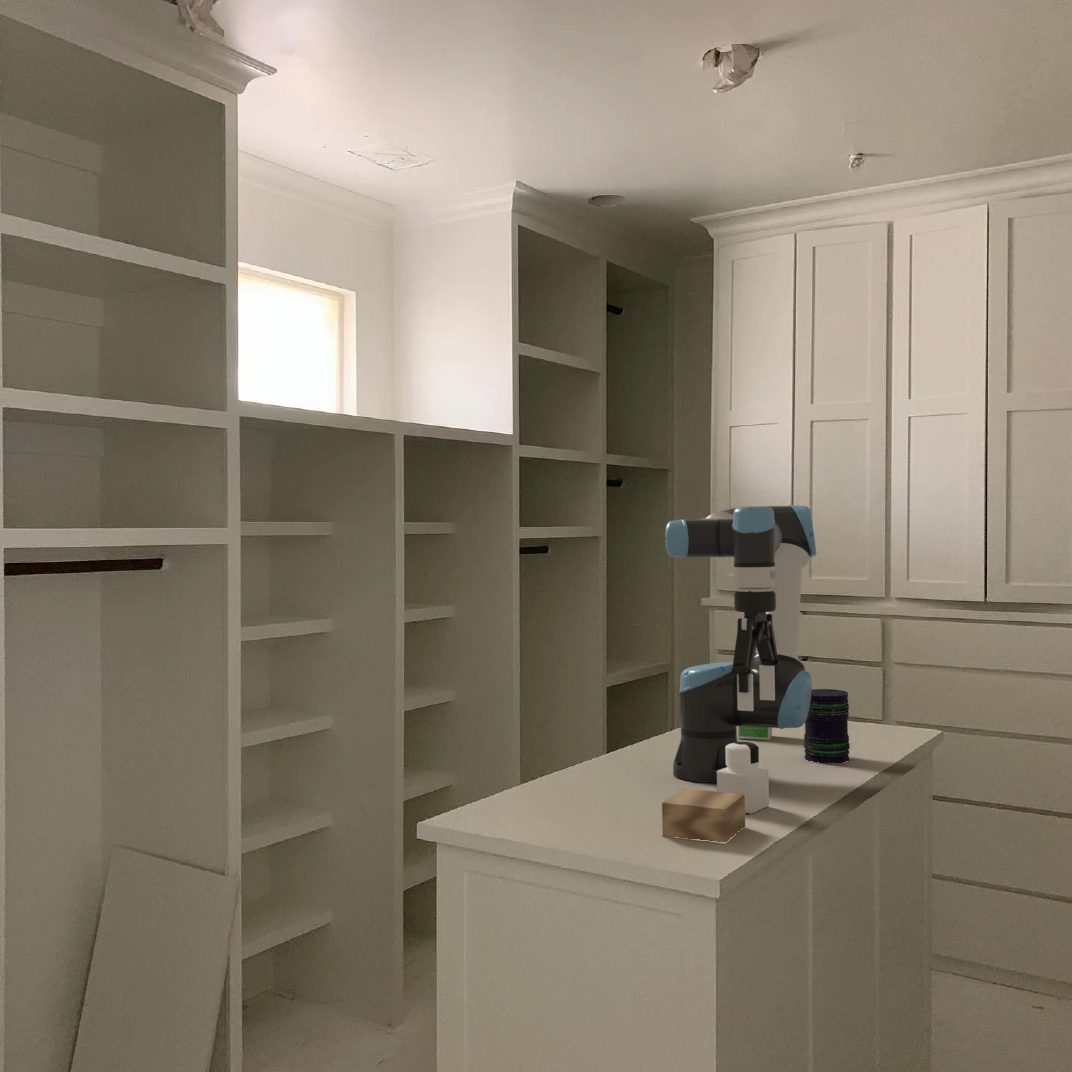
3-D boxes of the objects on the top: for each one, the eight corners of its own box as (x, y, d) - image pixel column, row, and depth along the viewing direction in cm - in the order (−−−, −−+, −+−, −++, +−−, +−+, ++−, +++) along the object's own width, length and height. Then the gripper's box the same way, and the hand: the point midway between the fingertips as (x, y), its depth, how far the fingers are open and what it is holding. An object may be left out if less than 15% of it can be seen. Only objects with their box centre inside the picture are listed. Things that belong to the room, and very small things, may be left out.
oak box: (662, 838, 181) (662, 802, 181) (684, 822, 191) (684, 788, 191) (725, 845, 176) (725, 809, 176) (745, 828, 186) (744, 794, 186)
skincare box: (736, 739, 263) (735, 676, 263) (739, 734, 270) (738, 672, 270) (771, 740, 261) (770, 676, 261) (773, 735, 267) (772, 673, 267)
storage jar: (841, 766, 232) (840, 696, 232) (797, 761, 237) (796, 693, 237) (855, 757, 240) (854, 690, 240) (813, 753, 246) (811, 687, 245)
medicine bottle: (735, 801, 204) (734, 738, 204) (769, 806, 199) (768, 742, 199) (716, 809, 198) (715, 744, 198) (751, 815, 194) (750, 748, 193)
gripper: (754, 593, 185) (756, 716, 185) (793, 587, 207) (794, 696, 207) (712, 593, 189) (714, 713, 189) (755, 586, 211) (757, 694, 211)
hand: (756, 705), depth 198 cm, fingers open, 13 cm apart
